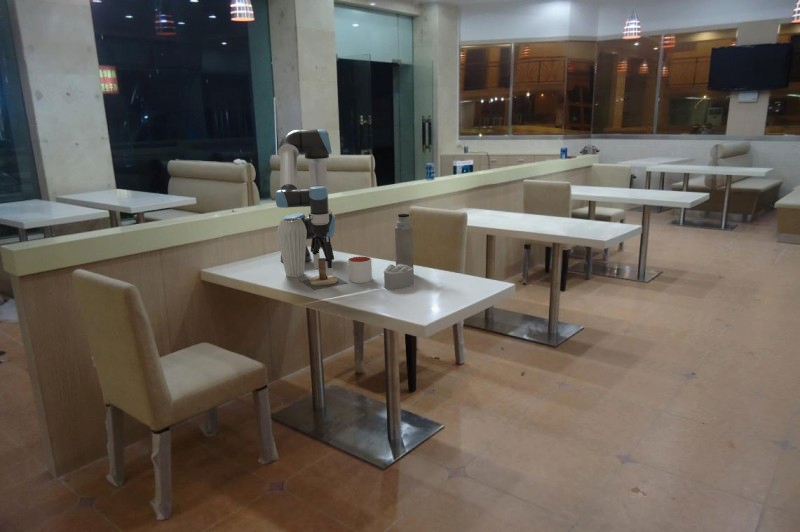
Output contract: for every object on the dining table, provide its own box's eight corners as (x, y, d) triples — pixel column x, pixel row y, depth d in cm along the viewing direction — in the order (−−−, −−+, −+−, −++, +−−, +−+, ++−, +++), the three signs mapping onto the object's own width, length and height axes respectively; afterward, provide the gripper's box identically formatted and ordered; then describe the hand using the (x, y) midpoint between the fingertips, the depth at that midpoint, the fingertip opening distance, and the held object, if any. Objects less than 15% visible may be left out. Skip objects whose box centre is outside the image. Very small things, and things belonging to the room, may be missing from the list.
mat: (299, 282, 249) (299, 281, 249) (333, 276, 257) (332, 275, 257) (313, 291, 236) (313, 289, 236) (348, 284, 244) (348, 283, 243)
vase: (312, 278, 255) (308, 220, 248) (282, 281, 251) (277, 223, 244) (307, 270, 267) (303, 216, 260) (278, 273, 263) (274, 218, 256)
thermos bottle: (400, 271, 262) (399, 212, 254) (416, 273, 258) (415, 213, 251) (393, 276, 255) (391, 215, 247) (409, 278, 251) (408, 216, 244)
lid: (305, 281, 248) (304, 258, 245) (330, 276, 254) (329, 254, 251) (316, 287, 238) (314, 263, 235) (342, 283, 244) (340, 259, 241)
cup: (368, 284, 243) (367, 262, 240) (346, 284, 245) (345, 261, 242) (374, 278, 252) (373, 256, 250) (352, 277, 254) (352, 256, 252)
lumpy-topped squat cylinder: (416, 284, 243) (416, 264, 240) (396, 291, 233) (396, 271, 231) (398, 280, 249) (397, 261, 247) (378, 287, 240) (377, 267, 237)
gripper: (301, 220, 248) (304, 267, 253) (323, 228, 227) (326, 279, 233) (317, 218, 251) (319, 264, 257) (340, 226, 231) (343, 276, 236)
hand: (323, 271), depth 245 cm, fingers open, 12 cm apart
